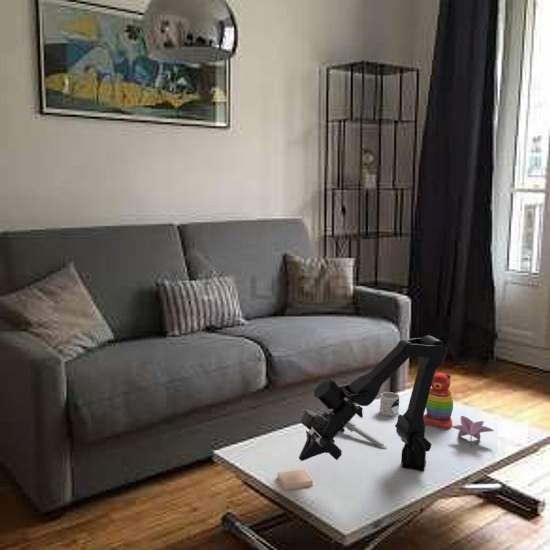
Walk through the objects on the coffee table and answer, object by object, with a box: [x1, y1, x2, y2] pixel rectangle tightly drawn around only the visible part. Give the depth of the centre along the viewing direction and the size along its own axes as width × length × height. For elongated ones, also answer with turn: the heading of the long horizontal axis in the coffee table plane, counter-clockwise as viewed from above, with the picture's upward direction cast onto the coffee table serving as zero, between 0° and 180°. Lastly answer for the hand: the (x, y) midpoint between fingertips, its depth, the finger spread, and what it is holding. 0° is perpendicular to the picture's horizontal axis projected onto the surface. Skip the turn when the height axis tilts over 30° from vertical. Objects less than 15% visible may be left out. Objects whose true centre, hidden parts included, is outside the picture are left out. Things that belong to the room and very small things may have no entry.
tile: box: [277, 468, 313, 491], centre depth 178 cm, size 2×7×8 cm
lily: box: [451, 415, 494, 449], centre depth 204 cm, size 12×12×10 cm
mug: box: [379, 391, 400, 417], centre depth 229 cm, size 10×7×7 cm, turn 149°
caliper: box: [343, 420, 387, 450], centre depth 206 cm, size 20×1×6 cm, turn 43°
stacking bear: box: [423, 372, 454, 430], centre depth 219 cm, size 11×10×18 cm
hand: (300, 459), depth 177 cm, fingers closed
